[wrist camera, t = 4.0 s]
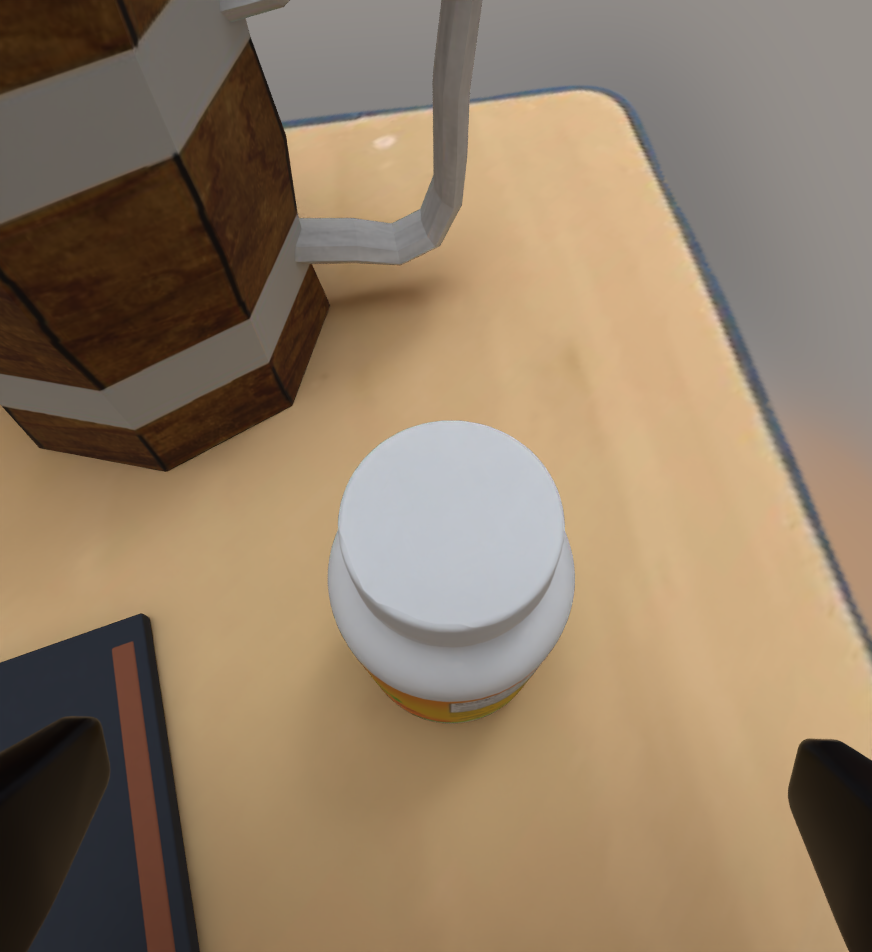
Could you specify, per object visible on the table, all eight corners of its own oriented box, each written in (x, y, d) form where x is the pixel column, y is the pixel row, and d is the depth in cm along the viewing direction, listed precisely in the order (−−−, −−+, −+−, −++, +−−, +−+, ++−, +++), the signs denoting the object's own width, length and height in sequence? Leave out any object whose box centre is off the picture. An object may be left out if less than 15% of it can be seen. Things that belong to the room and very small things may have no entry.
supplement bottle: (341, 595, 20) (253, 453, 11) (486, 528, 21) (511, 348, 12) (408, 759, 17) (365, 741, 9) (568, 675, 18) (672, 585, 10)
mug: (-24, 504, 21) (-813, 50, 8) (23, 241, 27) (-383, -267, 14) (508, 412, 23) (590, -113, 9) (442, 180, 29) (433, -341, 15)
